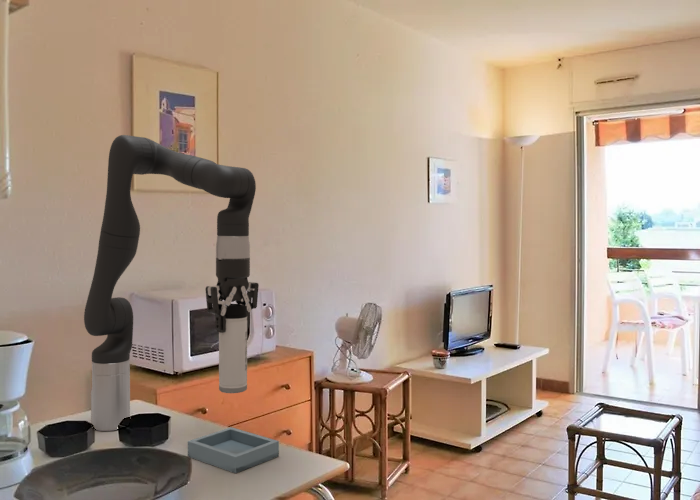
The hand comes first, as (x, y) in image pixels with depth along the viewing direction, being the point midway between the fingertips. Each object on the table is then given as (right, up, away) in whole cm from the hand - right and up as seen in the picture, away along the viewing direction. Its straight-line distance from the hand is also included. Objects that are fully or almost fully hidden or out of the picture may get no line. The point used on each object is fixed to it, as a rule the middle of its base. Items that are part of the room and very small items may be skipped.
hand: (232, 330), depth 147 cm
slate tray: (0, -29, +1) cm, 29 cm away
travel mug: (0, -14, +1) cm, 14 cm away
